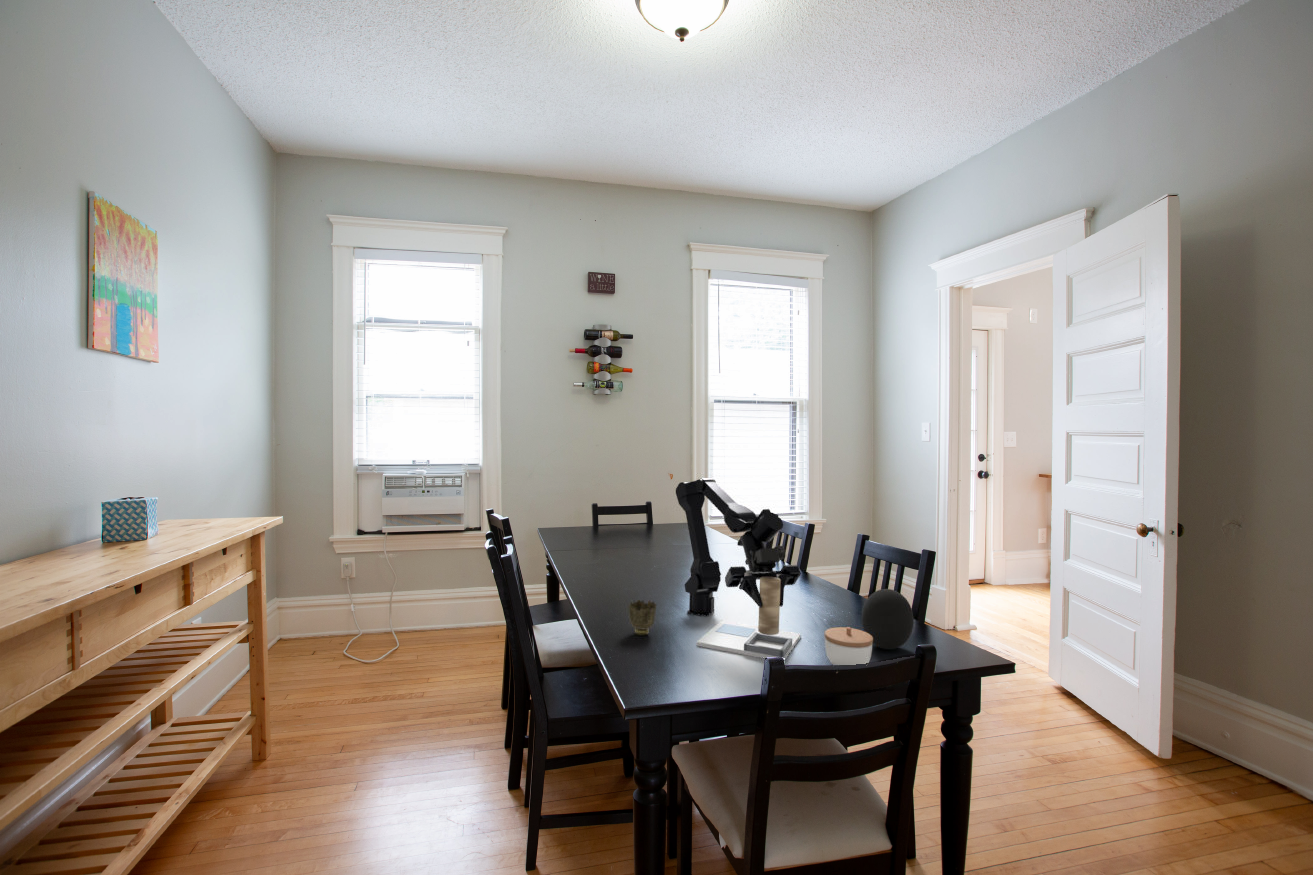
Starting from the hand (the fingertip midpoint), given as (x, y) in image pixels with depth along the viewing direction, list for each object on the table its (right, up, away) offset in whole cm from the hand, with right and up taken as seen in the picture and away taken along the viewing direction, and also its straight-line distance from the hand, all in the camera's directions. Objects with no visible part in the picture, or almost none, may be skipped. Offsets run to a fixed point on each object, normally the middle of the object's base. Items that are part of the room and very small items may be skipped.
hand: (771, 606), depth 148 cm
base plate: (-4, -11, +8) cm, 14 cm away
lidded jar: (+16, -12, -8) cm, 22 cm away
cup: (-32, -11, +12) cm, 36 cm away
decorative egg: (+30, -12, +6) cm, 33 cm away
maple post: (0, -7, +1) cm, 7 cm away
